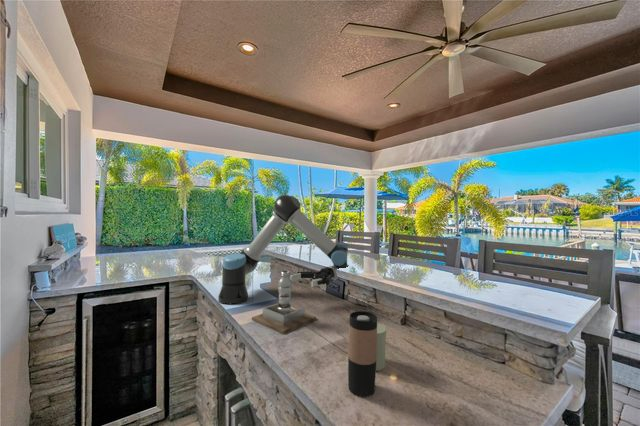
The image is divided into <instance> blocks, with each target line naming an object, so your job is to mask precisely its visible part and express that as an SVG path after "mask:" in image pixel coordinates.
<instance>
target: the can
mask: <svg viewBox="0 0 640 426" xmlns="http://www.w3.org/2000/svg"><path fill="white" fill-rule="evenodd" d="M386 340H387V327H386V326H385V325H384V324H382V323H378V322H377V359H376V372H378V371H382V370H384V369H385V367H386Z"/></svg>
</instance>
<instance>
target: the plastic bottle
mask: <svg viewBox="0 0 640 426" xmlns="http://www.w3.org/2000/svg"><path fill="white" fill-rule="evenodd" d="M280 276H281V277H280V279H278V282H277V289H278V308H277V313H279V314H282V315H286V314H289V313H291V312H292V308H293V307H292V302H291V301H292V299H291V298H292V289H293V281H291V279H290V276H291V275H290V270H282V271H280Z"/></svg>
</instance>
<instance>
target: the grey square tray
mask: <svg viewBox="0 0 640 426" xmlns="http://www.w3.org/2000/svg"><path fill="white" fill-rule="evenodd" d="M277 308H278V303H275V304H272V305H269V306H265V307H263V308H262V314H263V318H266V319H268V320H270V321H273V322H275V323H277V324H280V325H282V326H285V325H287V324H290V323H292V322H295V321H297V320H300V319H302V318H305V313H306V308H305V307H303V308H299V309H296V310H297V311H294V312H291V313H289V314H286V315H282V314H279V313H277Z"/></svg>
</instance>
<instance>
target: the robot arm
mask: <svg viewBox="0 0 640 426" xmlns="http://www.w3.org/2000/svg"><path fill="white" fill-rule="evenodd" d="M273 207H274V208H273V210H272V215H271V217H270V218H269V219H268V221H267V222H266V223H265V224H264V225H263V227H262V228H261V230H260V231H259V232H258V233H257V235H256V236H255V238H253V240H252V241H251V243H250V244H248V246H244V247H243V249H241V251H240V253H232V254H228V255H226V256H224V257H223V258H222V264H221V266H222V274H221V275H222V279H221V280H222V283H221V285H222V286H221V288H220V291H219V294H218V297H217V298H218V300H217V301H218V302H219V303H220V302H221V304H223V303H227V304H226V305H231V304H230V303H238V304H241V303H242V304H243V303H245V302H247V301H248V300H249V293H248V289H247V287H246V275H249V274H250V273H252V272H253V271H255V270H256V268H257V267H258V265H259V264H258V263H260V261H261V258H262V257H261V255H262V254H263V253H264V251H265V250H266V249H267V247H268V246H269V245H270V243H271V242H272V241H273V240H274V238H275V237H276V236H277V235H278V233H279V232H280V231H281V230H282V228H283V227H284V226H285V224H292V226H294V227H295V228H296V230H298V231H299V232H300V233H302V234H303V235H304V236H305V238H307V239H308V240H309V241H310V242H312V244H314V246H316V247H317V248H318V249H319V250H320V251H322V253H324V255H326V257H328V259H330V261H331V262H332V264H333V265H329V266H326V267H322V268H320V269H319V271H315V270H310V271H309V270H308V271H307V270H306V271H297V272H296V273H294V274H291V275H290V276H289V278H290V279H291V281H292V282H293V281H299V280H301V279H312V280H311V286H310V287H311V288H313V287H317V286H321V285H325V284H326V286H329V285H330V283H331V282H333V281H336V280H340V279H341V278H339V277H338V276H337V273H336V270H337V269H339V268H346V267H348V266H349V267H350V265H349V264H348V251H349V249H348V243H345V242H334V241H333V240H332V239H331V238H330V237H329V236H328V235H327V234H326V233H325V232H323V230H321V229H320V228H319V227H318V226H317V225H315V223H313V222H312V220H310V219H309V217H307V216H306V215H305V214H303V212H302V210H301V203H300V201H299V199H298V198H297V197H295V196H293V195H289V194H282V195H280V196H278V197H277V198H276V200H275V201H274V205H273ZM228 303H229V304H228Z"/></svg>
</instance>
